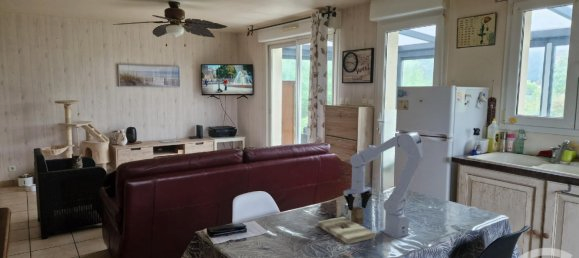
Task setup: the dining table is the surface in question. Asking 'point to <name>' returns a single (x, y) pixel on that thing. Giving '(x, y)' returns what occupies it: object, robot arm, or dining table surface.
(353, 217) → the walnut flat peg
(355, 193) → the robot arm
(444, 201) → the dining table surface
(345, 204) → the metal round peg
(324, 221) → the slot board
